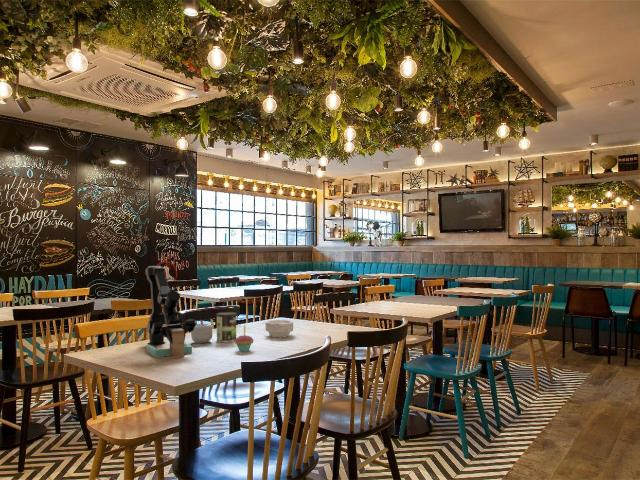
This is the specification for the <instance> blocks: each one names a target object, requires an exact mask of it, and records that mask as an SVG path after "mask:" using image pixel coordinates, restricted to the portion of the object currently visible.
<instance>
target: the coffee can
mask: <svg viewBox="0 0 640 480" xmlns="http://www.w3.org/2000/svg"><path fill="white" fill-rule="evenodd" d="M237 315H238V314H237V312H232V311H226V312H225V311H223V312H217V313H216V342H218V343H231V342H235V339H236V338H237Z"/></svg>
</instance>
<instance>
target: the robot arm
mask: <svg viewBox="0 0 640 480" xmlns="http://www.w3.org/2000/svg"><path fill="white" fill-rule="evenodd" d="M144 272H145V276H146V280H147V282H149V284H150V295H151V296H150V297H151V298H150V299H151V313H150V315H149V317H148V322H147V325H146V332H147V333H148V334H149V342H148V343H146V344H147V345H148V344H150V345H151V346H159V345H162V344H163V345H164V344H166V343H167V342H166V341H165V340H164V339H165V338H166V339H167V341H168V342H169V344H170V343H171V344H172V337H171V333H170V329H183V330H184V342H185V340H186V333H188V332H191V331H193V330H194V328H195V327H196V326H197V322H196V320H195V319H187V320H185V322H184V323H181V319H180V318H179V312H178V311H177V307H178V305H179V301H180V299H181V294H180V293H179V292H178V291H176V290H175V289H172V288H171V287H170V286H169V283H168V280H167V276H166V270H165V267H163V266H162V265H152V266H151V265H148V266H147V268H145V270H144Z"/></svg>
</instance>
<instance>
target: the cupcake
mask: <svg viewBox="0 0 640 480" xmlns="http://www.w3.org/2000/svg"><path fill="white" fill-rule="evenodd" d="M253 343H254V338H253V337H252V336H250V335H246V324H244V326H243V335H239V336H238V337H236V339H235V341H234V344H236V346H237V349H238V351H239V352H241V353H242V352H244V353H245V352H249V351H250V350H251V349H250V348H251V346H252V344H253Z"/></svg>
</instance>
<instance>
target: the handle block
mask: <svg viewBox="0 0 640 480" xmlns="http://www.w3.org/2000/svg"><path fill="white" fill-rule="evenodd" d="M170 333H171V337H172V344H171V343H170V342H169V348H170V356H169V357H170V358H172V359H173V360H174V359H175V360H176V359H180V358H185V354H184V342H185V341H184V330H183V329H170Z"/></svg>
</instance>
